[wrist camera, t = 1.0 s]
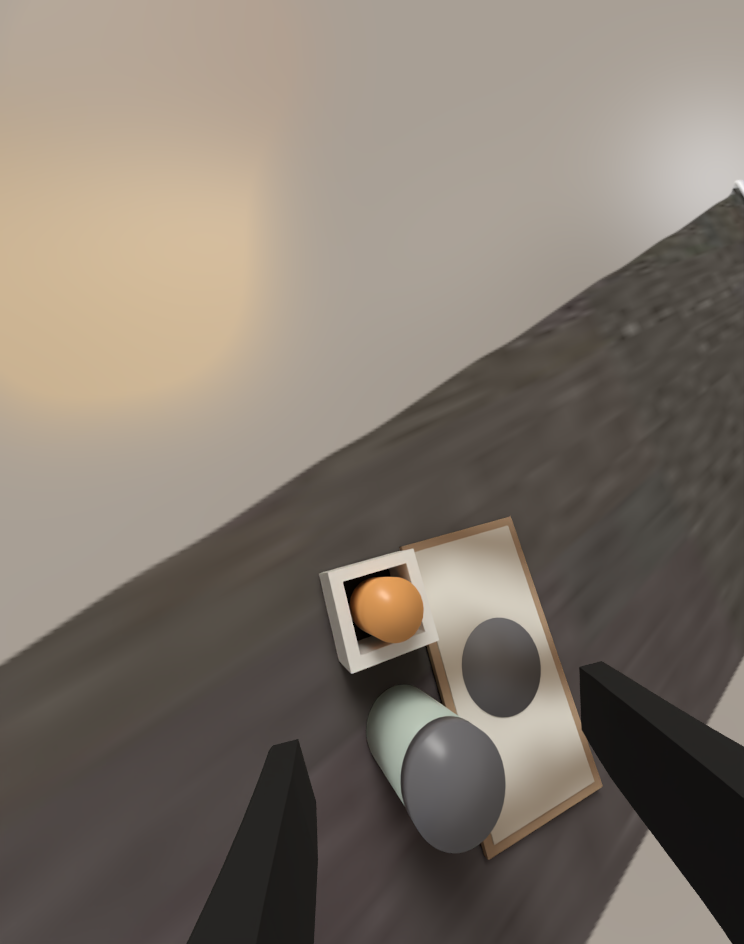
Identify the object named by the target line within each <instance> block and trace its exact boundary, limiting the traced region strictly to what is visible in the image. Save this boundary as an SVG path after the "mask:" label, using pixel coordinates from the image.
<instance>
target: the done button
mask: <svg viewBox="0 0 744 944" xmlns="http://www.w3.org/2000/svg"><path fill="white" fill-rule="evenodd" d="M423 613H424V607H423V601H422V598H421V595H420V593H419V591H418V590H417V588H416V587H415V586H414V585H413V584H412V583H410V582H409V581H407V580H406V579H403V578H399V577H372V578H368V579H366V580H364V581H362V582H361V583H359V584H358V585H357V587H356V588H355V589H354V591H353V593H352V595H351V598H350V614H351V617H352V619H353V621H354V623H355V624H356V625H357V626H358V627H359V628H360V629H361V630H363V631H365V632H366V633H368V634H370V635H372V636H374V637H376V638H378V639H380V640H382V641H384V642H387V643H401V642H404V641H406V640H408V639H409V638H411V637H412V636H413V635H414V634H415V633H416V632H417V630H418V629H419V627H420V625H421V622H422V619H423Z"/></svg>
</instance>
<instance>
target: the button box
mask: <svg viewBox="0 0 744 944" xmlns="http://www.w3.org/2000/svg"><path fill="white" fill-rule="evenodd" d="M388 568H389V572H390V576H391V577H399V578H403V579H406V580H407V581H409V582H410V583H412V584H413V585H414V586H415V587H416V588H417V590H418V591H419V593H420V595H421V598H422V601H423V607H424V613H423V619H422V622H421V625H420V627H419V629H418V630H417V632H416V633H415V634H414V635H413V636H412V637H411V638H409V639H408V640H406V641H404V642H401V643H387V642H384V641H382V640H380V639H378V638H376V637H374V636H370V637H368V638H365V639H362V640H359V641H357V639H356V635H355V630H354V626H353V622H352V618H351V614H350V610H349V605H348V601H347V597H346V593H345V589H344V585H343V582H344V581H347V580H350V579H354V578H357V577H360V576H364V575H367V574H371V573H374V572H377V571H381V570H384V569H388ZM319 577H320V581H321V585H322V590H323V594H324V599H325V603H326V607H327V612H328V616H329V620H330V625H331V629H332V634H333V638H334V642H335V647H336V651H337V655H338V660H339V661H340V662H341V664H342V665H343V666H344V667H345V668H346V669H347V670H348V671H349V672H350V673H351V674H353V673H356V672H358V671H361V670H363V669H366V668H369V667H371V666H374V665H376V664H379V663H382V662H384V661H387V660H389V659H392V658H394V657H397V656H400V655H402V654H405V653H407V652H410V651H413V650H415V649H418V648H420V647H423V646H426V645H428V644H431V643H433V642H436V641H439V637H438V634H437V630H436V627H435V623H434V620H433V616H432V613H431V609H430V606H429V602H428V598H427V595H426V591H425V588H424V584H423V581H422V577H421V574H420V570H419V567H418V563H417V560H416V556H415V552H414V549H408V550H403V551H398V552H394V553H390V554H386V555H383V556H379V557H376V558H372V559H369V560H365V561H361V562H358V563H354V564H351V565H347V566H344V567H340V568H337V569H333V570H329V571H326V572H322V573H319Z"/></svg>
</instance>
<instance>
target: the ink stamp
mask: <svg viewBox="0 0 744 944" xmlns="http://www.w3.org/2000/svg"><path fill="white" fill-rule="evenodd" d="M366 736H367V743H368V746H369V749H370V751H371V754H372V755H373V757H374V759H375V760H376V762H377V763H378V765H379V767H380V768H381V770H382V771H383V773H384V774H385V776H386V778H387V779H388V781H389V782H390V784H391V785H392V787H393V789H394V790H395V792H396V793H397V795H398V797H399V798H400V800H401V801H402V803H403V804H404V806H405V808H406V810H407V813H408V815H409V816H410V818H411V820H412V821H413V823H414V825H415V826H416V828H417V829H418V831H419V833H420V834H421V835H422V837H423V838H424V839H425V840H426V841H427V842H428V843H429V844H430V845H432V846H433V847H435V848H436V849H438V850H440V851H443V852H447V853H462V852H466V851H469V850H471V849H473V848H475V847H476V846H478V845H479V844H480V843H482V842H483V841H484V840H485V839H486V838H487V837H488V835H489V834H490V833H491V832H492V830H493V828H494V827H495V825H496V823H497V821H498V819H499V817H500V814H501V811H502V808H503V804H504V798H505V787H506V782H505V771H504V766H503V762H502V759H501V756H500V754H499V752H498V749H497V747H496V746H495V744H494V743H493V741H492V740H491V739H490V738H489V736H488V735H487V734H486V733H484V732H483V731H482V730H480V729H479V728H478V727H476V726H475V725H473V724H472V723H470V722H469V721H467V720H465V719H463V718H461V717H459V716H458V715H456V714H455V713H453V712H452V711H451V710H449V709H448V708H446V707H445V706H443V705H442V704H440V703H439V702H438V701H436V700H435V699H433V698H432V697H430V696H429V695H427V694H426V693H425V692H423V691H422V690H420V689H419V688H417V687H415V686H412V685H396V686H393V687H391V688H389V689H387V690H386V691H385V692H383V693H382V694H381V695H380V696H379V697H378V698H377V700H376V701H375V703H374V704H373V706H372V708H371V710H370V713H369V716H368V719H367V726H366Z"/></svg>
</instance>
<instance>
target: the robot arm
mask: <svg viewBox="0 0 744 944" xmlns="http://www.w3.org/2000/svg"><path fill="white" fill-rule="evenodd" d="M579 669H580V699H581V728H582V731H583V733H584V735H585V736H586V738H587V740H588V741H589V743H590V745H591V746H592V748H593V750H594V751H595V753H596V755H597V756H598V758H599V760H600V761H601V763H602V764H603V766H604V768H605V769H606V771H607V772H608V774H609V776H610V777H611V779H612V780H613V781H614V783H615V784H616V785H617V787H618V788H619V790H620V791H621V792H622V794H623V795H624V796H625V798H626V799H627V800H628V802H629V803H630V804H631V806H632V807H633V808H634V810H635V811H636V813H637V814H638V815H639V817H640V818H641V819H642V821H643V822H644V823H645V825H646V826H647V827H648V829H649V830H650V831H651V833H652V834H653V835H654V836H655V838H656V839H657V840H658V842H659V843H660V845H661V846H662V847H663V848H664V850H665V851H666V853H667V854H668V855H669V857H670V858H671V859H672V861H673V862H674V863H675V865H676V866H677V867H678V869H679V870H680V871H681V873H682V874H683V875H684V877H685V878H686V879H687V881H688V882H689V883H690V885H691V886H692V887H693V889H694V890H695V891H696V893H697V894H698V895H699V897H700V898H701V900H702V901H703V902H704V904H705V905H706V906H707V908H708V909H709V911H710V912H711V914H712V915H713V916H714V918H715V919H716V921H717V922H718V923H719V925H720V926H721V928H722V929H723V931H724V932H725V933H726V935H727V937H728V938H729V940H730V941H731V942H732V944H744V747H743V746H742V745H740V744H738V743H737V742H735V741H733V740H731V739H729V738H728V737H726V736H724V735H722V734H721V733H719V732H717V731H715V730H714V729H712V728H710V727H709V726H707V725H705V724H704V723H702V722H700V721H699V720H697V719H695V718H694V717H692V716H690V715H689V714H687V713H685V712H684V711H682V710H680V709H679V708H677V707H675V706H674V705H672V704H670V703H669V702H667V701H666V700H664V699H662V698H661V697H659V696H657V695H656V694H654V693H653V692H651V691H649V690H648V689H646V688H644V687H643V686H641V685H640V684H638V683H636V682H635V681H633V680H632V679H630V678H628V677H627V676H625V675H624V674H622V673H620V672H619V671H617V670H615V669H614V668H612V667H610V666H609V665H607V664H605V663H604V662H602V661H601V662H597V663H593V664H589V665H585V666H581V667H579ZM317 866H318V850H317V816H316V800H315V797H314V793H313V790H312V786H311V783H310V779H309V776H308V772H307V769H306V765H305V762H304V758H303V755H302V751H301V748H300V744H299V741H298V739H297V740H293V741H289V742H285V743H281V744H277V745H273V746H272V747H271V749H270V750H269V752H268V755H267V758H266V761H265V763H264V766H263V769H262V772H261V774H260V777H259V780H258V782H257V785H256V788H255V790H254V793H253V795H252V798H251V800H250V803H249V805H248V808H247V810H246V813H245V815H244V818H243V820H242V823H241V825H240V827H239V830H238V832H237V834H236V837H235V839H234V841H233V844H232V846H231V848H230V851H229V853H228V855H227V858H226V860H225V862H224V865H223V867H222V869H221V871H220V874H219V876H218V878H217V880H216V882H215V885H214V887H213V889H212V891H211V893H210V895H209V897H208V899H207V902H206V904H205V906H204V908H203V910H202V912H201V914H200V916H199V919H198V921H197V923H196V925H195V927H194V929H193V931H192V933H191V936H190V938H189V940H188V942H187V944H314V927H315V907H316V887H317Z"/></svg>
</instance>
